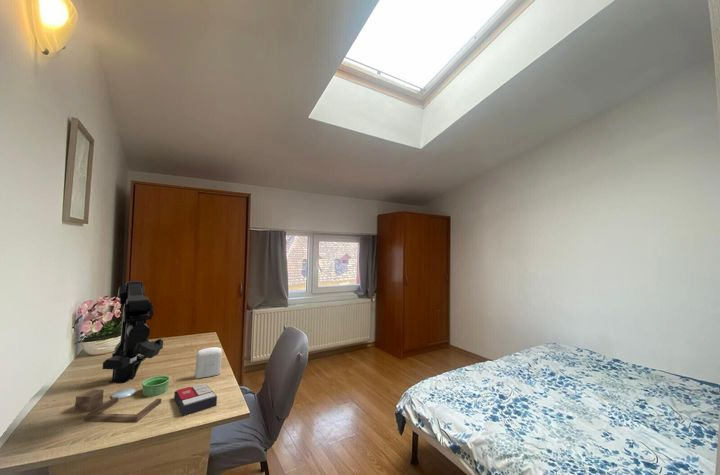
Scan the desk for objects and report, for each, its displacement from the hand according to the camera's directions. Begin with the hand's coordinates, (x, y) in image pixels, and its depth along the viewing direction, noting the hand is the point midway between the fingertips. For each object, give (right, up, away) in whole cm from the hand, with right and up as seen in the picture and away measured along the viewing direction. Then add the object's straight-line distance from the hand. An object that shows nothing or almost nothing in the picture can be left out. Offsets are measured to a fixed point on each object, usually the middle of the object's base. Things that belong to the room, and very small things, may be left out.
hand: (131, 379), depth 99 cm
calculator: (+19, -12, +5) cm, 23 cm away
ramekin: (0, -11, +12) cm, 16 cm away
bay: (0, -10, -2) cm, 10 cm away
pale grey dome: (-10, -10, +8) cm, 16 cm away
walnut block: (-14, -10, -1) cm, 17 cm away
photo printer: (+13, -12, +27) cm, 32 cm away
